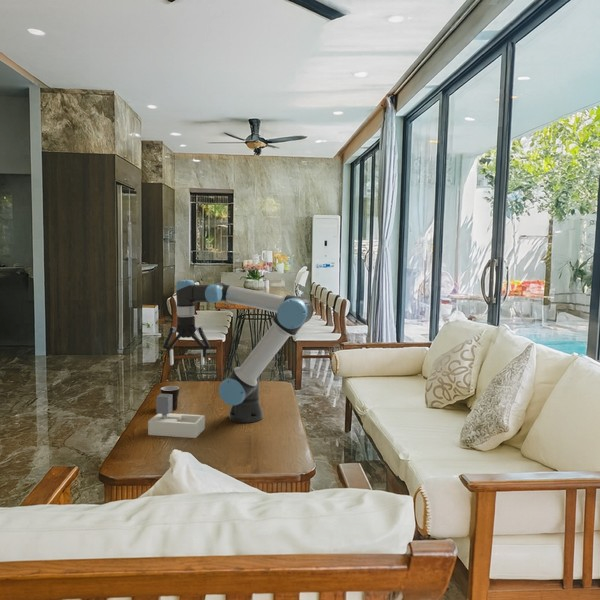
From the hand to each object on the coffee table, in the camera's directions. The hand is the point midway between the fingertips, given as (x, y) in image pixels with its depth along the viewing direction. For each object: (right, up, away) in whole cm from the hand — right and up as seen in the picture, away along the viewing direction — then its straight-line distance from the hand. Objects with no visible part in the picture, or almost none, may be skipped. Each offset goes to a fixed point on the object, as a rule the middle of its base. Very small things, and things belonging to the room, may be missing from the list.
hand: (187, 364), depth 241 cm
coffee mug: (-12, -24, +23) cm, 35 cm away
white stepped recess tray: (-2, -27, -10) cm, 29 cm away
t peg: (-8, -25, -10) cm, 28 cm away
